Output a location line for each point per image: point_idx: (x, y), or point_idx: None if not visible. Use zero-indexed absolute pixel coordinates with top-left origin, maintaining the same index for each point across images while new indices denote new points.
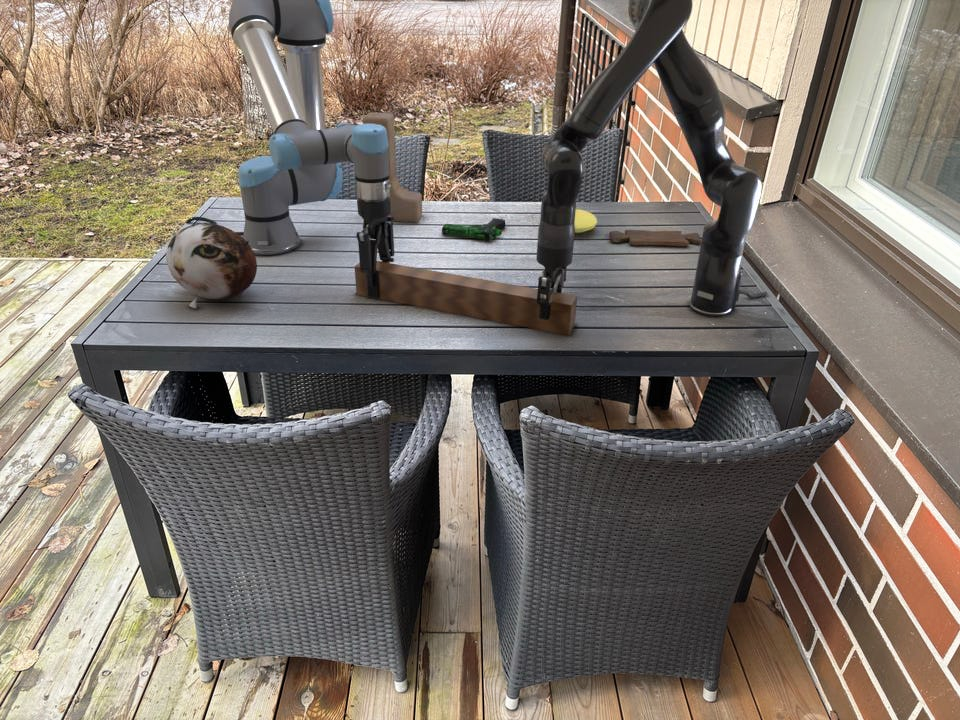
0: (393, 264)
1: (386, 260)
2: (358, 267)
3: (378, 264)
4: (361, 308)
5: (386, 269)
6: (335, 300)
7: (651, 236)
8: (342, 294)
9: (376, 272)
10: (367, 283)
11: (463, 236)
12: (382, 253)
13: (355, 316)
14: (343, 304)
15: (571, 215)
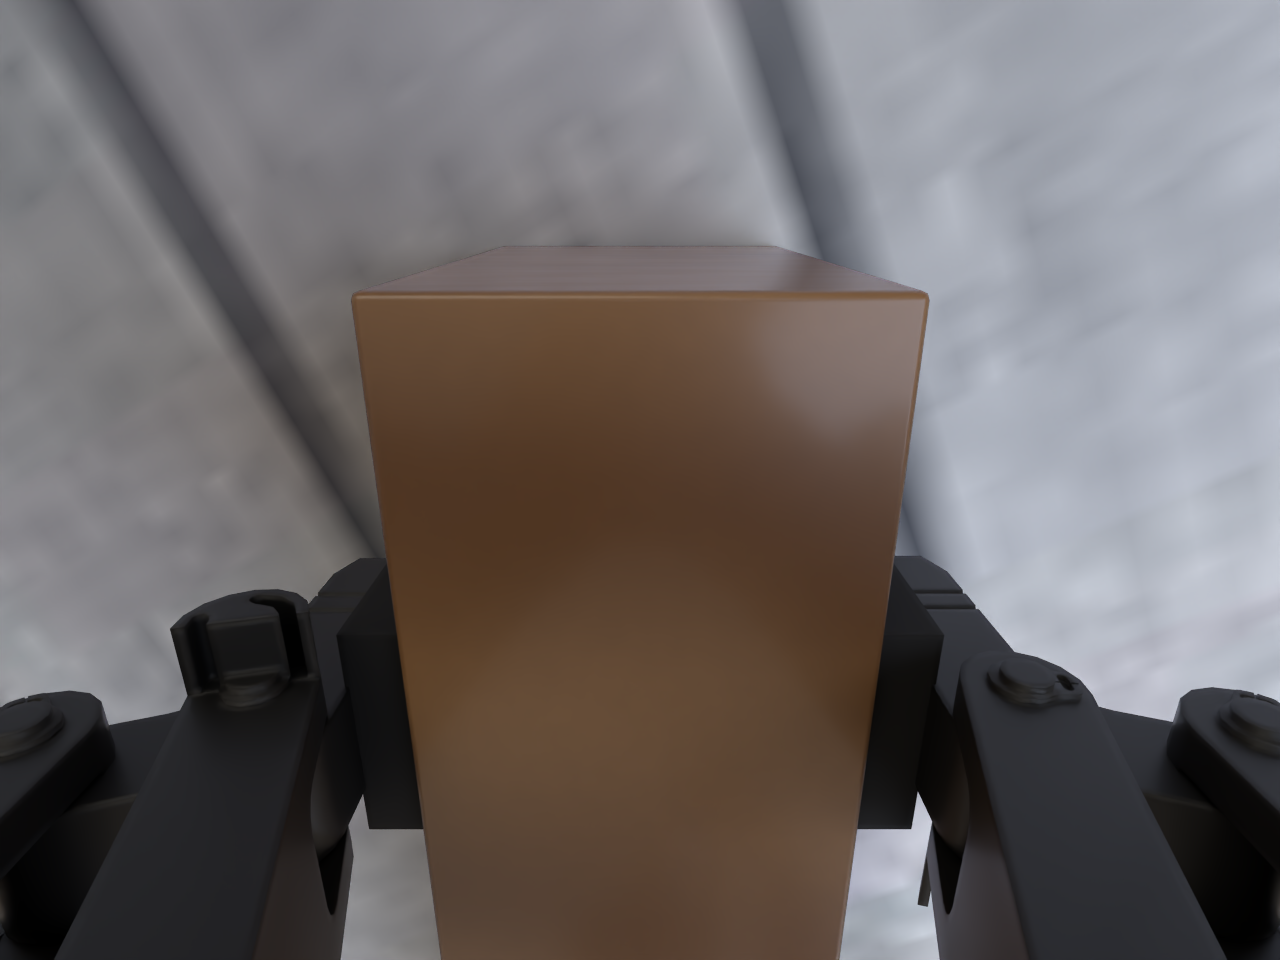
0: (805, 953)
1: (933, 808)
2: (369, 415)
3: (703, 739)
4: (225, 487)
5: (539, 946)
6: (211, 53)
7: None
8: (420, 41)
9: (390, 817)
10: (333, 582)
11: None
12: (972, 915)
13: (36, 520)
14: (181, 233)
15: None
